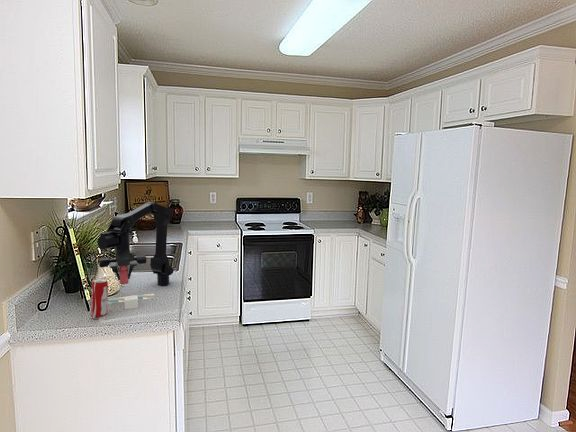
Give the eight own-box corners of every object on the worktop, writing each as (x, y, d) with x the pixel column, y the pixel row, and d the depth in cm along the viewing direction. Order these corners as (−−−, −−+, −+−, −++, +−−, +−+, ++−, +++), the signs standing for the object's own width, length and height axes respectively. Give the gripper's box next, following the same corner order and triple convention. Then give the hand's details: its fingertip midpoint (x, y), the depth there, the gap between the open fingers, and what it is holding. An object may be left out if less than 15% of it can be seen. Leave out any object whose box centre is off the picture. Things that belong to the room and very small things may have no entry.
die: (124, 307, 163) (124, 296, 162) (137, 306, 165) (136, 294, 164) (125, 312, 158) (125, 300, 157) (138, 310, 160) (138, 298, 160)
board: (106, 301, 169) (105, 299, 169) (153, 295, 177) (153, 293, 177) (105, 306, 164) (105, 303, 164) (155, 299, 172) (155, 297, 172)
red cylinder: (120, 281, 170) (119, 263, 168) (128, 281, 170) (128, 263, 169) (119, 284, 166) (118, 265, 165) (127, 284, 167) (127, 265, 166)
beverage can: (89, 315, 153) (87, 279, 151) (107, 312, 157) (105, 277, 155) (92, 320, 149) (90, 283, 147) (110, 317, 153) (109, 280, 150)
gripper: (98, 250, 155) (100, 288, 157) (146, 247, 163) (148, 282, 165) (98, 245, 165) (100, 280, 167) (144, 242, 173) (145, 275, 175)
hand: (123, 279), depth 168 cm, fingers closed on red cylinder, 4 cm apart
